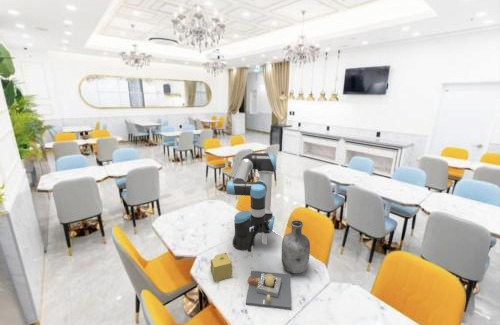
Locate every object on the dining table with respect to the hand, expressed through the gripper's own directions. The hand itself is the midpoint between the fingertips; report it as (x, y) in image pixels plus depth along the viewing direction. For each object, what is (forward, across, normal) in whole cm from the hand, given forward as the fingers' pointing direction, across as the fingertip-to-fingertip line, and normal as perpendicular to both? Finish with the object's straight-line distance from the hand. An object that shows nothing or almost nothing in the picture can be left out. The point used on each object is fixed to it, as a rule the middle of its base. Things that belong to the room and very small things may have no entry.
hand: (257, 249), depth 126 cm
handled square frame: (+17, +4, +7) cm, 19 cm away
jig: (+18, +4, +10) cm, 21 cm away
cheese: (+19, +10, -18) cm, 28 cm away
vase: (+19, -19, +14) cm, 30 cm away
